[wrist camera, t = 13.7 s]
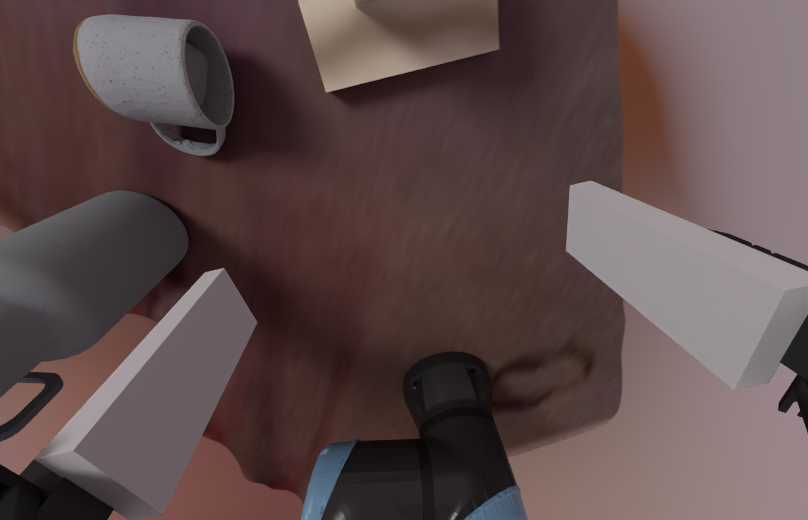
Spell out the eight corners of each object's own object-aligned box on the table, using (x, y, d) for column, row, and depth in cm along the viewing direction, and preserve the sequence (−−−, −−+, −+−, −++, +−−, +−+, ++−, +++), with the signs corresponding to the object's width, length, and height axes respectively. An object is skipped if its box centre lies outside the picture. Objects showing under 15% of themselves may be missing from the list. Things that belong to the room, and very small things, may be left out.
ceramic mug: (119, 18, 25) (33, 2, 19) (223, 26, 26) (174, 13, 20) (165, 150, 31) (110, 172, 25) (249, 153, 32) (217, 175, 25)
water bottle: (198, 272, 38) (-87, 596, 15) (110, 264, 37) (-375, 614, 13) (183, 194, 33) (-295, 498, 9) (80, 181, 32) (-812, 508, 8)
